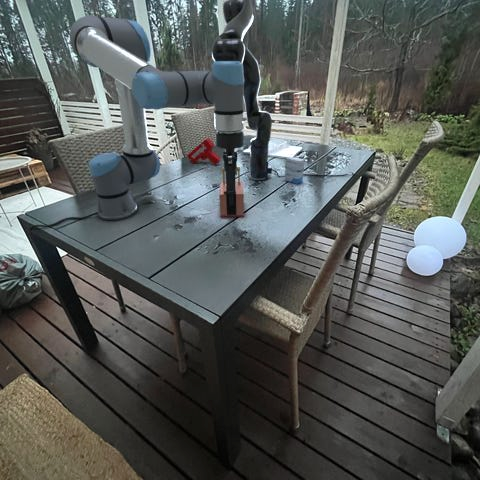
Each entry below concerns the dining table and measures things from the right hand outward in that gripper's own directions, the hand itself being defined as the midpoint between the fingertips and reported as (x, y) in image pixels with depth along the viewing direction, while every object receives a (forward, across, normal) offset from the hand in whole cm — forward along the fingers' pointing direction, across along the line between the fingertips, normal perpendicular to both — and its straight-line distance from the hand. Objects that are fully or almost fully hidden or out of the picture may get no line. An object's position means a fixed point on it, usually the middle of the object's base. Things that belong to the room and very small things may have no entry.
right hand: (230, 153), depth 106 cm
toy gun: (+23, -63, -18) cm, 69 cm away
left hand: (+7, +31, 0) cm, 32 cm away
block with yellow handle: (+14, +3, 0) cm, 14 cm away
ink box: (+23, -29, +32) cm, 49 cm away
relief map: (+23, -89, +30) cm, 97 cm away
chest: (+23, +4, 0) cm, 23 cm away
